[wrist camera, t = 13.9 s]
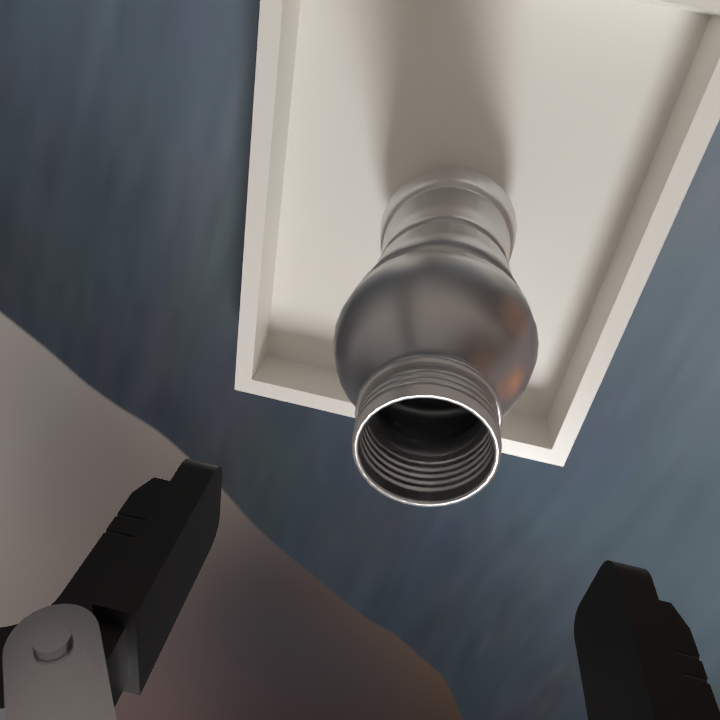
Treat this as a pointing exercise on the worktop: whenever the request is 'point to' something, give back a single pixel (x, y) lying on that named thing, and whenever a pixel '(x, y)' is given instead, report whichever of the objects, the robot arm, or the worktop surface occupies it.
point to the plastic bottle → (436, 340)
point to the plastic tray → (478, 151)
